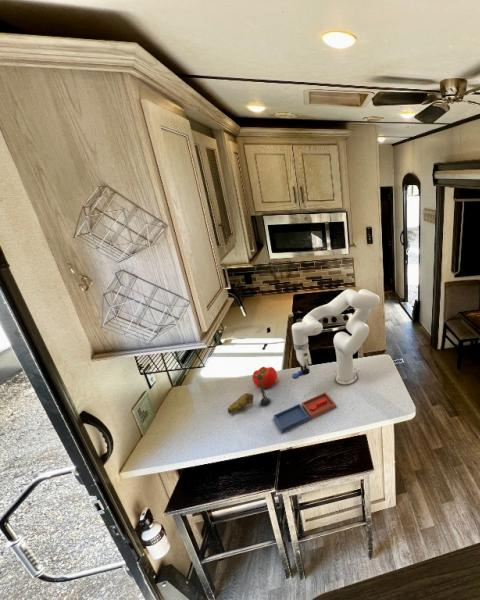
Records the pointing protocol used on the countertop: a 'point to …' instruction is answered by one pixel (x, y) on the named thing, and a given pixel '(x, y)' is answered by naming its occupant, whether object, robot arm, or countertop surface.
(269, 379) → the tomato
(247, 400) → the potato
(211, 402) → the countertop surface
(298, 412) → the blue tray
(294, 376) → the blue spoon
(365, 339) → the robot arm
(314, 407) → the red spoon
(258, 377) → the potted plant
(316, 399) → the red tray
